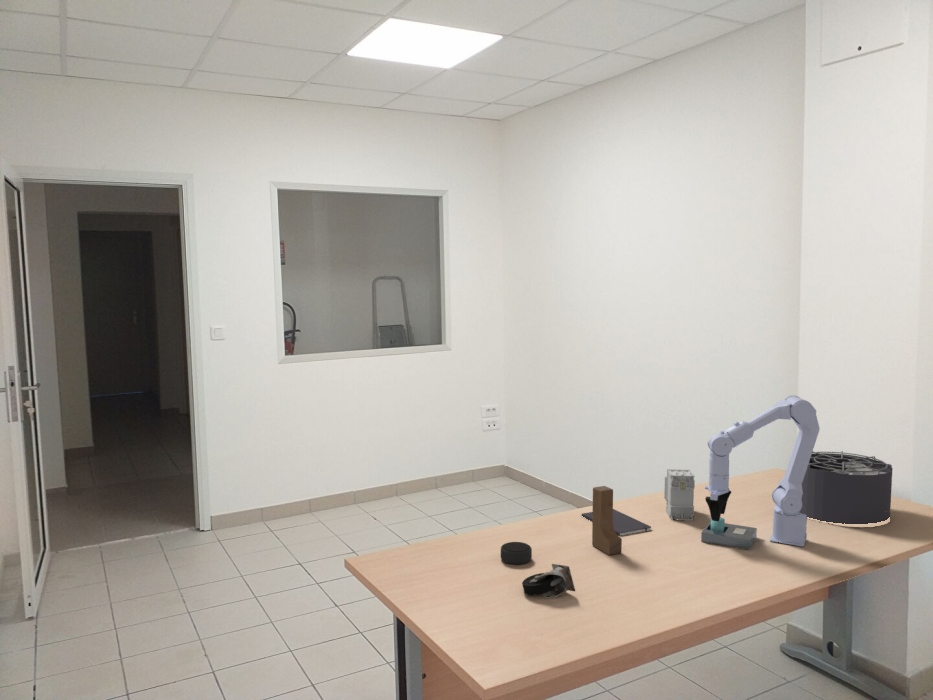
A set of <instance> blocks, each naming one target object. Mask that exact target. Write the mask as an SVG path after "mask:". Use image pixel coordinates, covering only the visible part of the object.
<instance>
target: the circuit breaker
mask: <svg viewBox="0 0 933 700" xmlns="http://www.w3.org/2000/svg"><path fill="white" fill-rule="evenodd" d="M695 477H696V476H695V474H694V473H693V472H692V470H691V469H670V468H669V469H666V476H664V497H663V498H664V499H665V502H666V503H665V504H666V511H665V512H666V514H667V516H668V519H676V520H675V521H694V516H695V506H694V504H695V503H694V499H695V498H694V497H695V495H694V493H695V491H694V490H695V483H696V482H695V481H696V480H695ZM677 519H678V520H677Z"/></svg>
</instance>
